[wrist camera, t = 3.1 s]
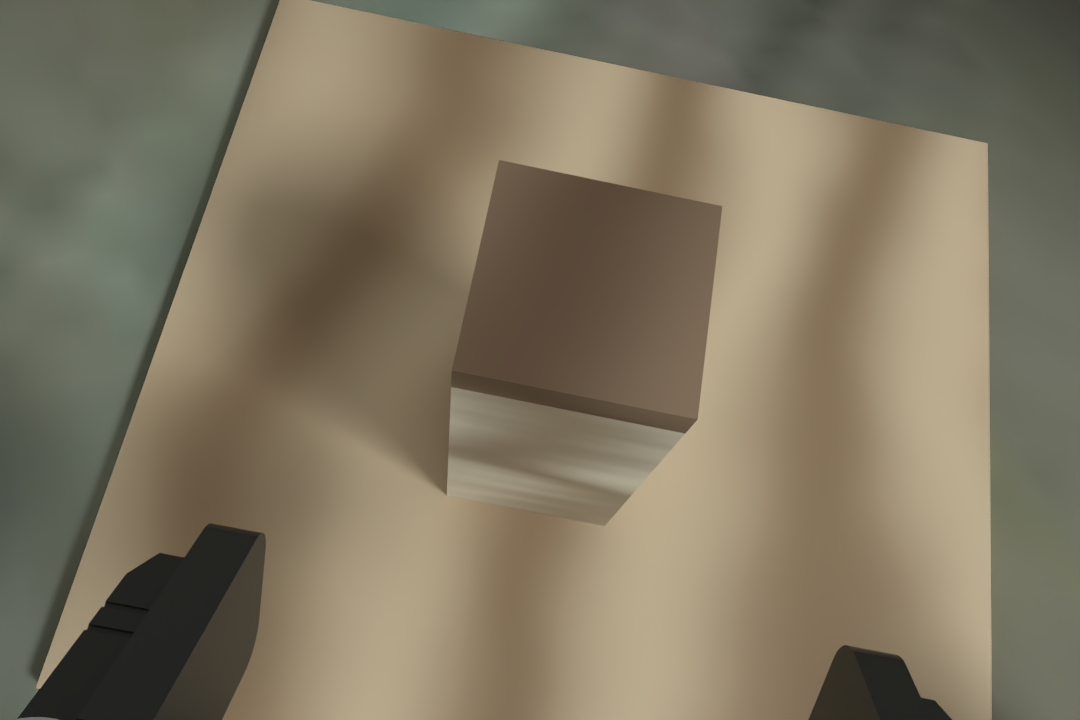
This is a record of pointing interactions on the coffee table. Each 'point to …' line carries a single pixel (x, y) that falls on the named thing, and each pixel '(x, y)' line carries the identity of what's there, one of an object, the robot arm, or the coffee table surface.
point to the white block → (578, 342)
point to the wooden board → (672, 487)
